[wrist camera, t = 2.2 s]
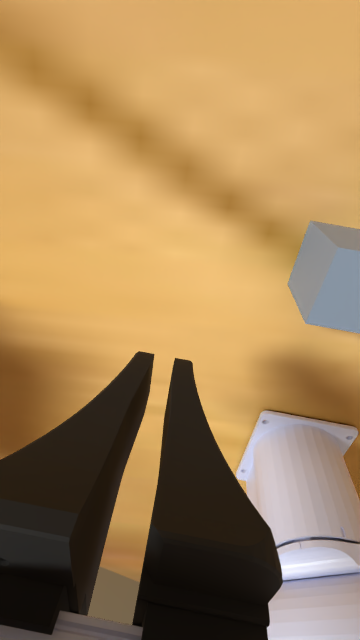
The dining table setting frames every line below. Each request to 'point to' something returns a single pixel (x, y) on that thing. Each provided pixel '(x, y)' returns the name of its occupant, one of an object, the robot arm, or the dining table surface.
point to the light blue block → (328, 277)
